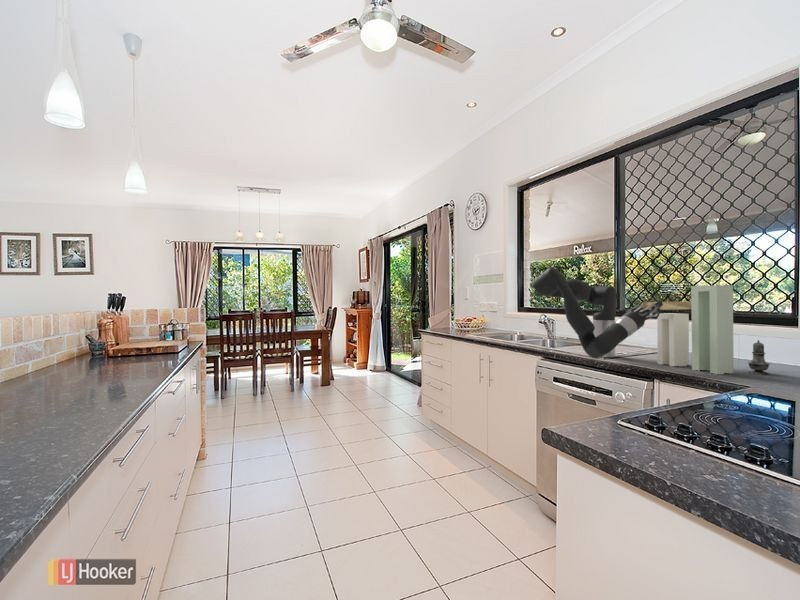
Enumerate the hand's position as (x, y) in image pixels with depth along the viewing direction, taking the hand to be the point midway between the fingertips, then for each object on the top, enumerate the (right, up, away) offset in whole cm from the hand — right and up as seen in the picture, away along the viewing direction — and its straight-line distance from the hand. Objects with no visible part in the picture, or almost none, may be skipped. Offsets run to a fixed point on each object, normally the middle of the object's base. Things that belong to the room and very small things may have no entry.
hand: (656, 302), depth 153 cm
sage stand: (+13, -26, -12) cm, 31 cm away
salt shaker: (+26, -26, -16) cm, 40 cm away
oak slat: (+8, -3, +2) cm, 9 cm away
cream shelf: (+9, -26, +3) cm, 27 cm away
